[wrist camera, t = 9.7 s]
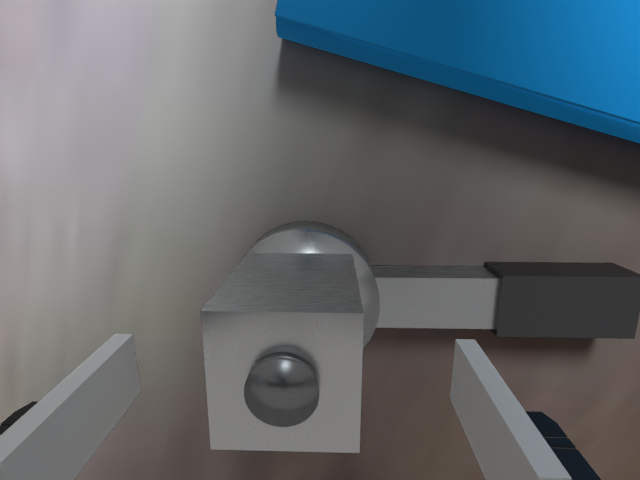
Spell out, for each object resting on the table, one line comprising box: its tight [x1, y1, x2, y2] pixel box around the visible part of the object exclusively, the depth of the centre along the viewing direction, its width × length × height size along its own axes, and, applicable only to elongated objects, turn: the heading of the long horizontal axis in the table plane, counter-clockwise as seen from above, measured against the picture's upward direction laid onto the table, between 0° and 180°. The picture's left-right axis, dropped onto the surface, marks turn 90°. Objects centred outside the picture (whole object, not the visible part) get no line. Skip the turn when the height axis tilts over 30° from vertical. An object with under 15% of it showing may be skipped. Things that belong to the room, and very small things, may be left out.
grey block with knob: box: [201, 253, 364, 453], centre depth 19 cm, size 6×6×9 cm
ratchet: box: [239, 221, 640, 349], centre depth 22 cm, size 9×24×7 cm, turn 90°
